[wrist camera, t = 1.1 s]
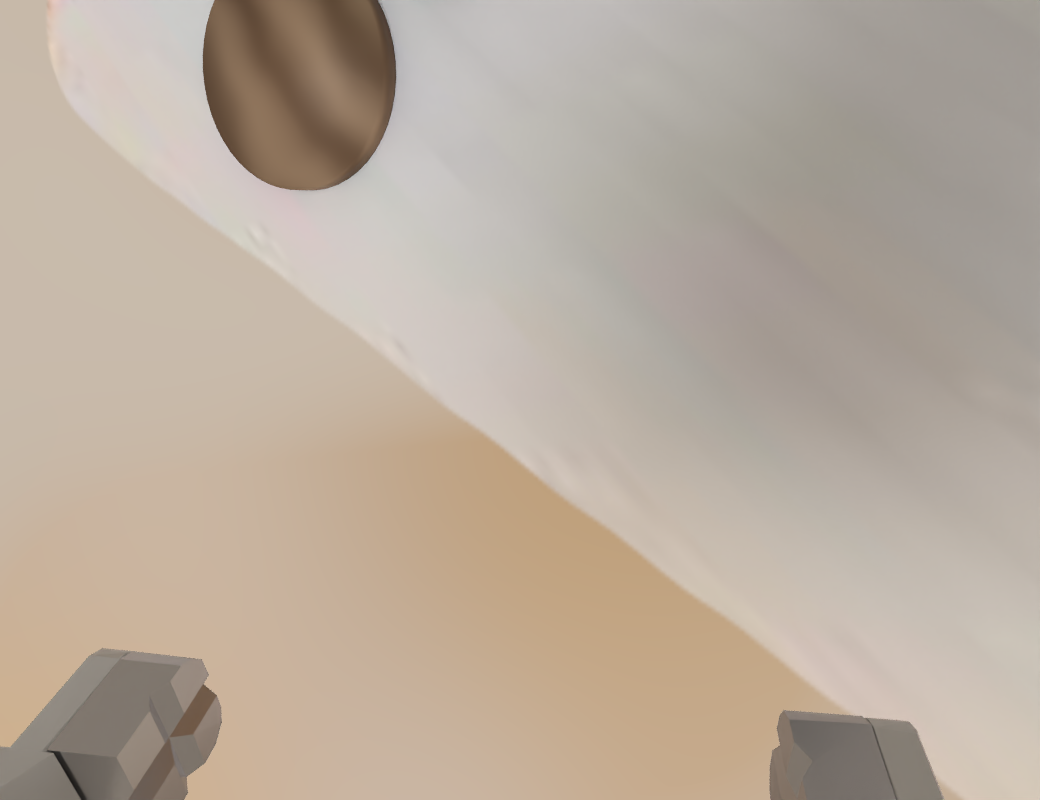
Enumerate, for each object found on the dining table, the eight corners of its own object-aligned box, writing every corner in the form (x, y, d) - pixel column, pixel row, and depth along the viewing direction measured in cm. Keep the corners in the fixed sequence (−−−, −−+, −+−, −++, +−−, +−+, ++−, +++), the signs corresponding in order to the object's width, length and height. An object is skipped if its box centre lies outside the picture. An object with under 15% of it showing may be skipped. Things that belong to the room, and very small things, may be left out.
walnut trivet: (299, -106, 47) (282, -116, 46) (437, 78, 46) (425, 73, 45) (188, 73, 54) (170, 70, 53) (305, 234, 54) (291, 235, 52)
